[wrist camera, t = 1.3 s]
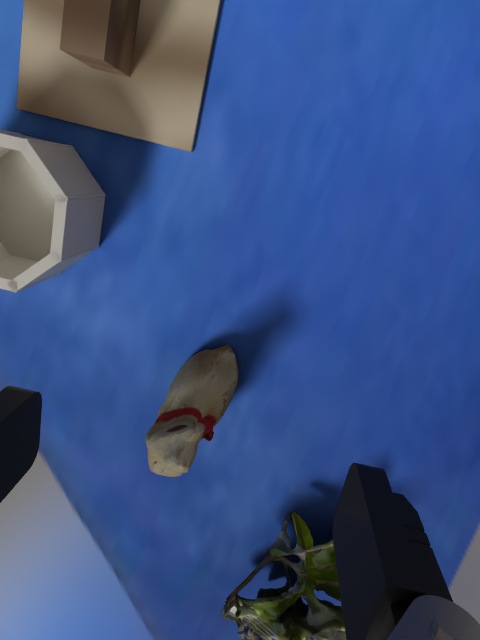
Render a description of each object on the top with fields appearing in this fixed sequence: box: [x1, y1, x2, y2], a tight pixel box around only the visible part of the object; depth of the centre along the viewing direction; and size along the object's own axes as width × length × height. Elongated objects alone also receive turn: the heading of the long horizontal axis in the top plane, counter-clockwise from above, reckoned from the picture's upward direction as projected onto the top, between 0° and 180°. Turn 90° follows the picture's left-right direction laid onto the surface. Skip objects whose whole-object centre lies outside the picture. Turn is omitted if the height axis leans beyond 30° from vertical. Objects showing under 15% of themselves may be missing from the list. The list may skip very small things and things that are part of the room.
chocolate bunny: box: [146, 345, 238, 477], centre depth 31 cm, size 6×8×10 cm
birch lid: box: [17, 0, 221, 152], centre depth 27 cm, size 12×12×6 cm
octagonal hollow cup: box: [0, 130, 106, 293], centre depth 30 cm, size 9×9×6 cm
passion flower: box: [221, 512, 346, 640], centre depth 36 cm, size 11×11×12 cm
